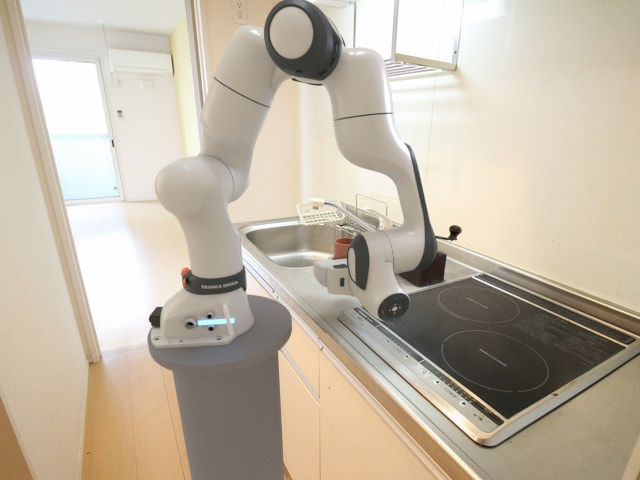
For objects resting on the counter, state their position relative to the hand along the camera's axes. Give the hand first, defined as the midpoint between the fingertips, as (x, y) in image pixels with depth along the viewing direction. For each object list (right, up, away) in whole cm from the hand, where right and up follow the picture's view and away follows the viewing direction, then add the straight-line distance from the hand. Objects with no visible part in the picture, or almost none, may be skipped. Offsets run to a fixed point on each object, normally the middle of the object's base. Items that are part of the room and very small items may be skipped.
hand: (344, 258), depth 96 cm
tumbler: (0, -6, +1) cm, 6 cm away
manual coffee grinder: (+27, -6, +23) cm, 36 cm away
